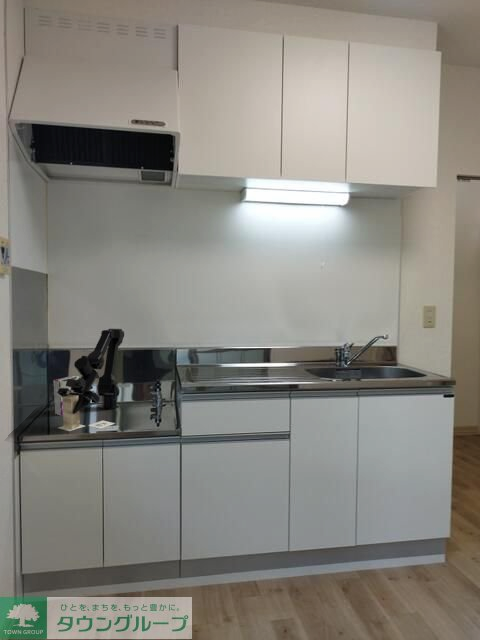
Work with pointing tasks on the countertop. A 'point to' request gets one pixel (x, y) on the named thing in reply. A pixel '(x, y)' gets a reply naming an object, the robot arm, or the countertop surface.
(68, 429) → the tile
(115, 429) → the countertop surface
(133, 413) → the countertop surface
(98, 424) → the code tile
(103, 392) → the robot arm
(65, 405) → the beech block
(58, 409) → the candy bar box
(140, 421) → the countertop surface
